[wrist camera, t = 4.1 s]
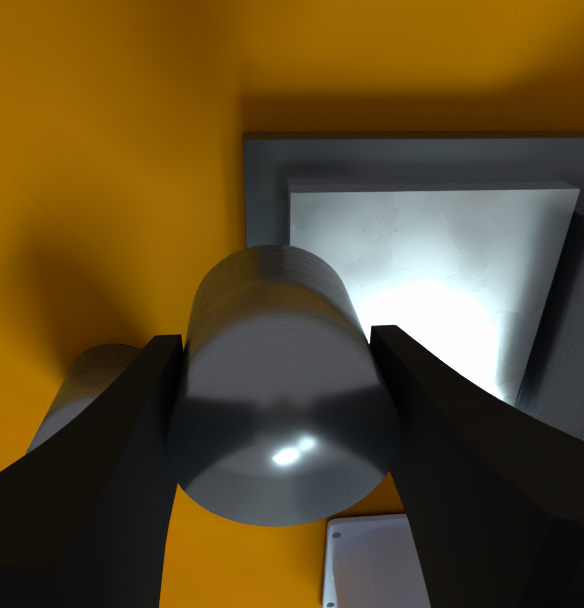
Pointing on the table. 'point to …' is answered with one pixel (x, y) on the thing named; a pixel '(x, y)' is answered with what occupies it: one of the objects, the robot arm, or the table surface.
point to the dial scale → (445, 245)
